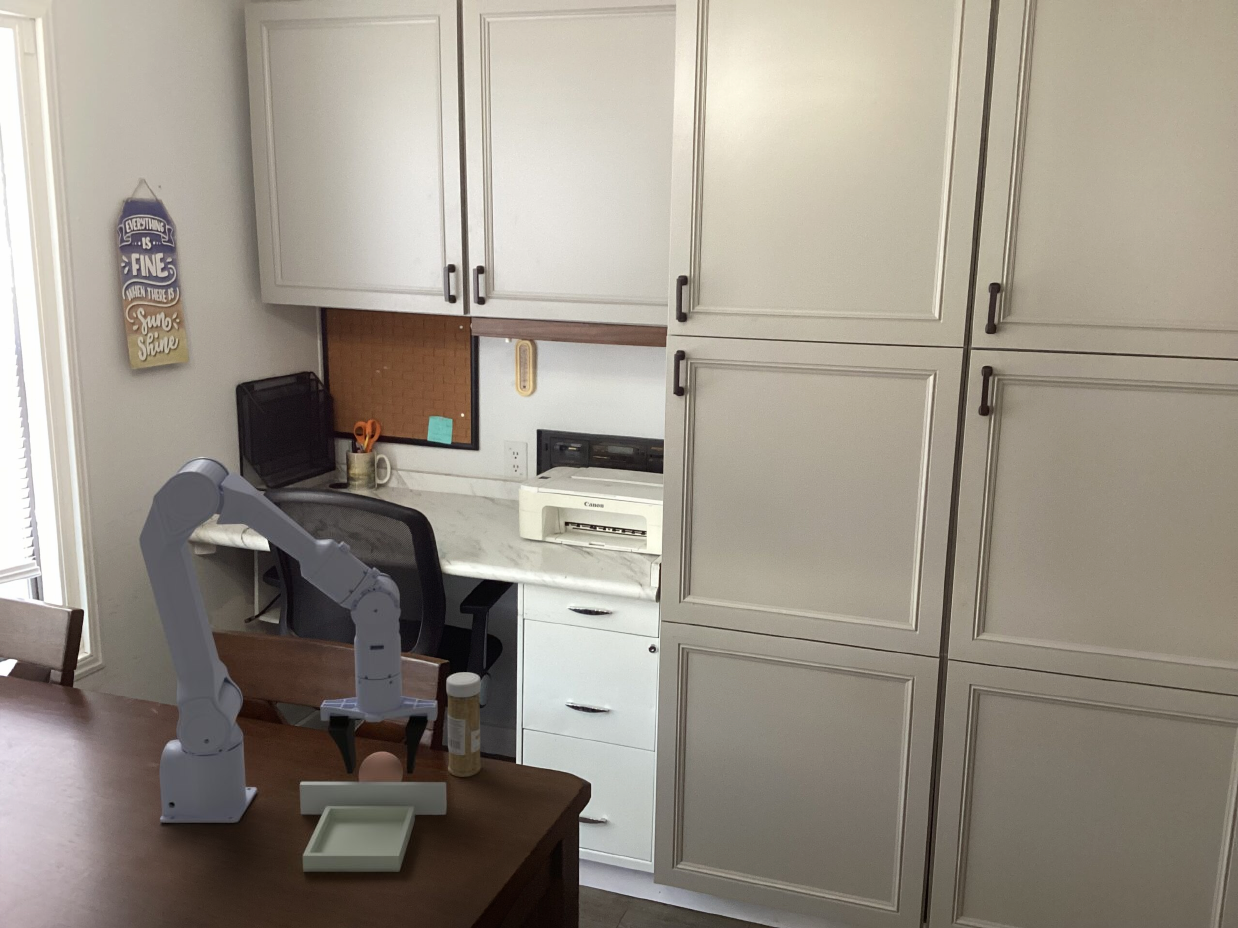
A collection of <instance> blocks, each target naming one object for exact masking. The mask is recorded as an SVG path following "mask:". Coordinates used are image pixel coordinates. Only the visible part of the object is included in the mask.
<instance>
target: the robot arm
mask: <svg viewBox="0 0 1238 928" xmlns="http://www.w3.org/2000/svg"><path fill="white" fill-rule="evenodd" d="M228 469H229V468H227V467H226V466H225V464H224V463H222V462H221V461H219V460H217V459H216V458H212V457H208V456H207V457H206V456H200V457H195V458H192V459H190V460H189V461H187V462H185V464H184V465H183V466H182V467H181V468H180V469H179V470H178V471H176V473H175V474H173V475H172V476H171V477H170V478H169V479H168V480H167V481H166V482H165V483H164V484H163V485H162V486H161V487H160V489H158V490H157V492H156V493H155V494H154V495H153V497H152V503H151V507H150V509H149V512H148V514H147V517H146V520H145V522H144V525H143V527H142V531H141V532H140V535H139V538H138V539H139V547H140V550H141V554H142V558H143V561H144V565H145V567H146V572H147V574H148V580H149V584H150V586H151V589H152V592H153V597H154V601H155V603H156V607H157V609H158V614H159V617H160V621H161V624H162V628H163V632H164V636H165V639H166V643H167V645H168V650H169V653H170V656H171V660H172V663H173V667H174V671H175V675H176V677H177V687H176V690H177V691H176V706H177V710H178V712H179V713H178V716H179V717H178V721H177V725H176V736H177V739H173V740H172V739H171V740H169V741H168V742H167V743H166V744H165V746H164V748H163V750H162V754H161V758H160V762H159V763H160V764H159V785H160V798H161V799H160V801H161V816H160V818H159V822H160V823H165V824H166V823H168V824H169V823H177V824H178V823H179V824H180V823H187V824H188V823H193V824H194V823H197V824H198V823H199V824H200V823H201V824H202V823H205V824H206V823H208V824H210V823H211V824H213V823H214V824H215V823H218V824H220V823H221V824H223V823H224V824H226V823H227V824H229V823H230V824H231V823H232V824H235V823H238V822H239V821H240V820H241V818H242V816H243V814H244V813H245V812H246V811H247V808H248V807H249V805H250V803H251V802H252V800H253V798H254V797H255V795H256V794H257V792H258V789H257V787H255V786H252V787H251V786H247V785H246V769H245V748H244V746H245V745H244V733H243V730H242V729H241V727H240V726H239V724H238V722H237V721H236V720H237V717H238V714H239V713H240V711H241V709H242V706H243V703H244V701H243V700H244V698H243V693H242V691H241V689H240V688H239V686H238V685H237V684H236V683H235V682H234V681H233V680H232V678H231V677H230V675H229V671H228V668H227V666H226V665H225V664H224V663H223V662H222V660H220V657H219V654H218V650H217V647H216V642H215V639H214V634H213V631H212V628H211V624H210V620H209V617H208V613H207V610H206V606H205V602H204V599H203V598H204V597H203V595H202V592H201V587H200V584H199V580H198V577H197V573H196V569H195V566H194V562H193V558H192V554H191V550H190V546H189V544H188V543H189V542H188V541H189V540H190V538H191V536H192V535H193V533H195V531H196V530H197V528H199V527H201V526H202V525H203V524H205V523H206V522H208V521H209V520H210V519H211V518H213V517H214V515H219V516H218V518H217V520H216V522H215V524H216V525H222V526H223V525H246V526H247V527H248V528H249V529H251V530H253V531H254V532H255V533H257V534H258V535H260V536H261V537H263V538H264V539H266V540H267V541H269V542H270V543H272V544H273V545H274V546H276V547H278V548H279V549H280V550H282V551H284V552H285V553H286V554H288V555H289V556H291V557H292V558H294V559H295V560H296V561H298V563H299V566H300V568H299V569H300V575H301V577H303V578H304V579H305V580H307V582H309V583H310V584H311V585H313V586H314V587H316V588H317V589H318V590H320V591H321V592H322V593H324V594H325V595H327V596H328V597H329V598H330V599H332V600H333V601H334V602H336V603H337V604H338V605H339V606H341V607H343V608H346V609H348V610H350V617H351V620H352V621H353V623H354V625H355V636H354V640H353V642H354V643H353V644H354V647H353V648H354V649H353V650H354V669H355V670H354V671H355V672H354V674H355V675H354V676H355V678H354V679H355V697H348V698H340V699H332V700H331V699H328V700H326V699H324V700H323V701H322V704H321V705H320V707H319V708H320V721H322V722H323V721H324V722H325V721H326V722H327V721H329V722H328V724H329V725H327V731H328V735H329V736H330V737H331V738H332V740H333V742H334V743H335V745H336V746H337V748H338V750H339V752H340V754H341V757H342V760H343V762H344V766H345V769H346V774H350V775H351V774H352V775H353V774H354V771H355V769H356V766H357V752H356V743H355V742H356V741H355V740H356V739H355V734H356V732H355V731H356V729H355V728H356V719H365V722H368V723H380V722H382V721H383V720H385V719H408V721H407V723H406V725H405V728H404V732H405V739H406V740H405V741H406V749H407V750H406V753H407V755H406V772H407V773H406V774H407V775H409V774H411V775H412V774H414V771H415V768H416V759H417V754H418V750H419V746H420V742H421V740H422V737H423V736H424V733H425V731H426V729H427V726H428V724H429V722H434V721H436V720H437V718H438V713H439V712H438V711H439V709H438V700H429V699H421V698H416V697H408V696H403V689H402V688H403V687H402V686H403V682H402V647H401V646H402V644H401V643H402V642H401V640H402V638H401V634H400V621H399V619H400V617H401V612H402V609H401V608H400V606H401V605H400V599H401V597H400V596H401V595H400V591H399V587H398V585H397V584H396V582H395V581H394V580H393V579H392V578H391V576H390V574H387V573H383V572H381V571H380V570H379V569H377V568H376V567H373V568H370V567H369V566H368V565H366V564H365V563H364V562H362V561H361V560H360V559H359V558H357V557H356V556H355V555H353V554H352V553H351V552H350V551H351V546H350V545H349V544H348V543H346V542H345V541H341V542H340V543H338V542H336V541H335V540H334V539H332V538H330V539H316V538H315V537H314V536H312V535H311V534H310V533H309V532H307V531H306V530H305V529H304V528H303V527H302V526H301V525H299V524H298V523H297V522H295V520H293V519H292V518H291V517H289V515H287V514H286V513H285V512H284V511H283V510H282V509H280V507H278V506H277V505H276V504H274V503H273V502H272V501H271V500H270V499H268V498H267V497H266V496H265V495H264V494H263V493H261V492H260V490H258V489H256V488H255V487H254V486H253V485H252V484H251V482H249V481H248V480H246V479H245V478H244V477H243V476H242V475H240V474H238V473H237V472H235V471H233V470H231V472H230V471H229V470H228Z"/></svg>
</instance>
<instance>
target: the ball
mask: <svg viewBox="0 0 1238 928" xmlns="http://www.w3.org/2000/svg"><path fill="white" fill-rule="evenodd" d="M403 776H404V769H403V765H402V763H401V761H400V760H399V758H398V757H397V756H396V755H394V754H393V753H391V752H387V751H377V752H373V753H372V754H370V755H368V756H366V758H365V759H364V760H363V761H362V762H361V765H360V767H359V770H358V782H403V781H402V780H403Z"/></svg>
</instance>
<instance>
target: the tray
mask: <svg viewBox="0 0 1238 928" xmlns="http://www.w3.org/2000/svg"><path fill="white" fill-rule="evenodd" d="M415 816H416V815H415V806H326V808H325V810H324V812H323V814H321V816H320V818H319V820H318V823H317V825H316V827H315V829H314V831H313V833H312V835H311V837H310V840H309V841H308V844H307V846H306V848H305V850H304V852H303V854H302V871H303V872H304V873H309V872H311V873H312V872H313V873H315V872H316V873H320V872H321V873H328V872H329V873H333V872H335V873H339V872H340V873H364V872H365V873H381V872H382V873H387V872H388V873H400V870H401V867H402V865H403V861H404V857H405V855H406V851H407V847H408V844H409V841H410V838H411V834H412V831H413V828H414V825H415V821H416V817H415Z"/></svg>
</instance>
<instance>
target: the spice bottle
mask: <svg viewBox="0 0 1238 928" xmlns="http://www.w3.org/2000/svg"><path fill="white" fill-rule="evenodd" d="M481 679H482V678H481V677H480V675H478V674H477V673H474V672H468V671H467V672H464V671H463V672H456V673H453V674H450V675H448V677H447V678H446V683H445V684H446V685H445V686H446V689H445V690H446V694H447V748H448V766H447V770H448V772H449V773H450V774H452V775H453V776H455V777H461V778H465V777H471V776H474V775H476V774H478V773H479V772H480V771H481V768H482V765H481V714H480V693H481V691H482V689H481V687H482V686H481V685H482V684H481V683H482V682H481V681H482V680H481Z"/></svg>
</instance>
